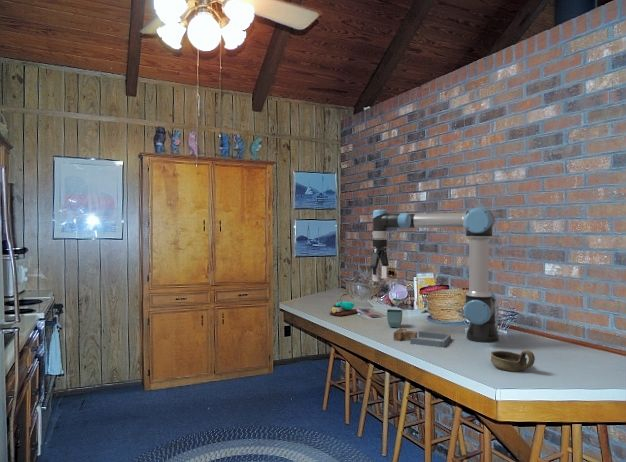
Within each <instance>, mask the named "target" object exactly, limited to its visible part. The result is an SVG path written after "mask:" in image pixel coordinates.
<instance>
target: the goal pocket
mask: <svg viewBox="0 0 626 462" xmlns="http://www.w3.org/2000/svg"><path fill="white" fill-rule="evenodd" d="M432 339H433V340H432ZM434 339H435V340H434ZM451 340H452V334H449V333H440V332H432V331H425V330H424V331H422V330H419V331H418V337H417V338H410V340H409V342H410V343H409V345H415V344H416V346H427V347H434V346H435V347H436V348H443V347H444V346H445V347H446V346H447V345H448V344H449V342H450V341H451ZM435 347H434V348H435ZM445 347H444V348H445Z"/></svg>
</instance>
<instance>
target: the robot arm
mask: <svg viewBox="0 0 626 462" xmlns="http://www.w3.org/2000/svg"><path fill="white" fill-rule="evenodd" d="M495 221H496V220H495V216H494V213H493V212H492V211H491V210H489V209H487V208H484V207H474V208H472V209H470V210H465V212H460V213H459V212H457V213H456V212H453V213H452V212H451V213H449V212H448V213H445V212H444V213H408V212H407V213H405V212H401V213H396V212H395V213H390V212H389V213H388V210H387V209H374V210H373V212H372V233H371V235H372V239H373V240H372V247H375V248H372V249H373V250H372V257H371V263H370V269H371V270H372V271H371V272H372V273H371V274H372V276H371V277H372V279H371V280H372V281H373V282H378V281H379V268H378V266H379V262H380V263H381V279H387V278H388V267H389V265H390V264H389V258H388V254H387V253H388V252H387V251H388V250H387V248H386V247H388V240H387V239H388V229H390V228H391V229H417V228H418V229H464V230H465V236H466V237H465V238H467V239H468V240H469V242H468V243H469V245H468V246H469V247H468V248H469V249H468V257H469V258H468V260H469V261H468V262H469V263H468V291H467V292H465V304H464V306H463V314H464V317H465V318H466V320H467V321H468V322H469V325H468V327H467V331H466V339H468V340H470V341H473V342H479V343H495V342H499V340H500V336H499V332H498V329H497V325H496V295H495V293H491V292H490V291H489V278H490V277H489V276H490V275H489V274H490V273H489V269H490V268H489V267H490V266H489V264H490V261H489V260H490V258H489V257H490V256H489V255H490V254H489V251H490V248H489V247H490V246H489V245H490V240H491V239H492V238H493V228H494V225H495V223H496V222H495Z"/></svg>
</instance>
